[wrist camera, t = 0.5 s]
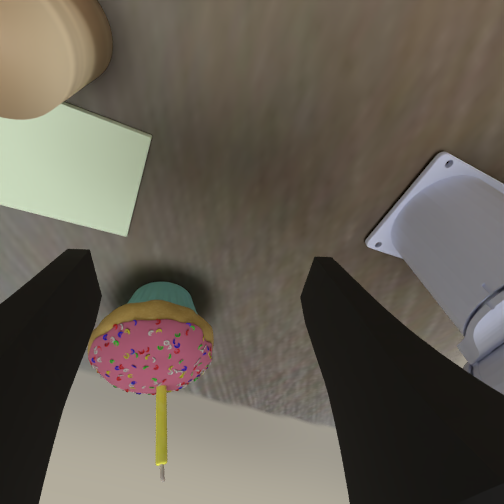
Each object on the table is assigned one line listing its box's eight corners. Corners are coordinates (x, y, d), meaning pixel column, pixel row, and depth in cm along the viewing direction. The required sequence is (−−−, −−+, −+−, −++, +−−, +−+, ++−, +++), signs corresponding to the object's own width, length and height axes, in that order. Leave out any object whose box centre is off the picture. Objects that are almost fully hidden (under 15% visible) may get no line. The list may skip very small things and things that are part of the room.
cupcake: (231, 306, 26) (247, 468, 17) (156, 342, 28) (134, 504, 19) (167, 244, 21) (141, 429, 12) (80, 294, 23) (0, 485, 14)
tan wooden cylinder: (119, 1, 13) (73, 1, 8) (105, 96, 15) (62, 138, 10) (7, -58, 11) (-127, -99, 7) (9, 57, 13) (-90, 86, 9)
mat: (152, 135, 16) (151, 137, 16) (127, 233, 20) (126, 236, 20) (-59, 54, 13) (-65, 56, 13) (-40, 189, 17) (-45, 193, 16)
